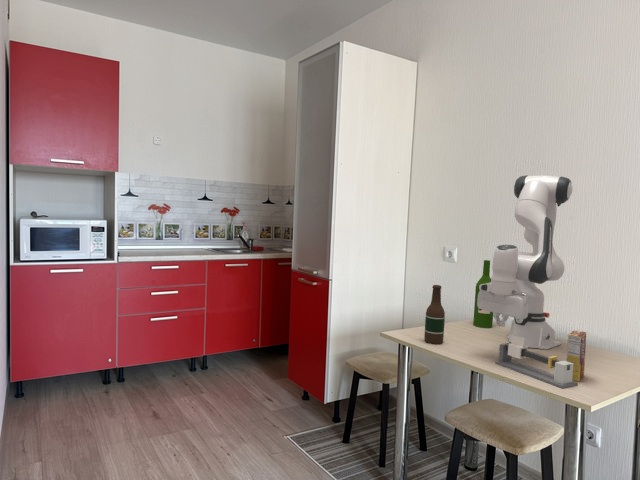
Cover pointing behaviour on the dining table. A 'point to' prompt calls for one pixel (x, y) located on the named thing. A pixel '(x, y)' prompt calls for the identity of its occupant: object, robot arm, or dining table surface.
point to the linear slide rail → (559, 378)
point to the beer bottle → (435, 318)
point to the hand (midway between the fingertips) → (500, 325)
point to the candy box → (577, 353)
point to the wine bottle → (480, 316)
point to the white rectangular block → (517, 347)
